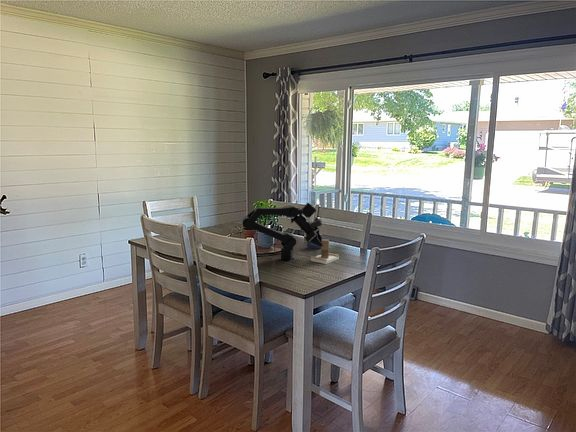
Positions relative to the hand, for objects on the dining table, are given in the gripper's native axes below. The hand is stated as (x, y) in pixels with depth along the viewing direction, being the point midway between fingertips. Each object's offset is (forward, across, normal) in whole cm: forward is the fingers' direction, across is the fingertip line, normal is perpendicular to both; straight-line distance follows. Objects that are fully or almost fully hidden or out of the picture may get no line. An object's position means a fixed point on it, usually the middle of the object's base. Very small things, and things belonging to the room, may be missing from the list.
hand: (322, 244), depth 239 cm
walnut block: (+6, 0, +4) cm, 8 cm away
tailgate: (+7, 0, +5) cm, 9 cm away
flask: (+2, +24, +11) cm, 27 cm away
